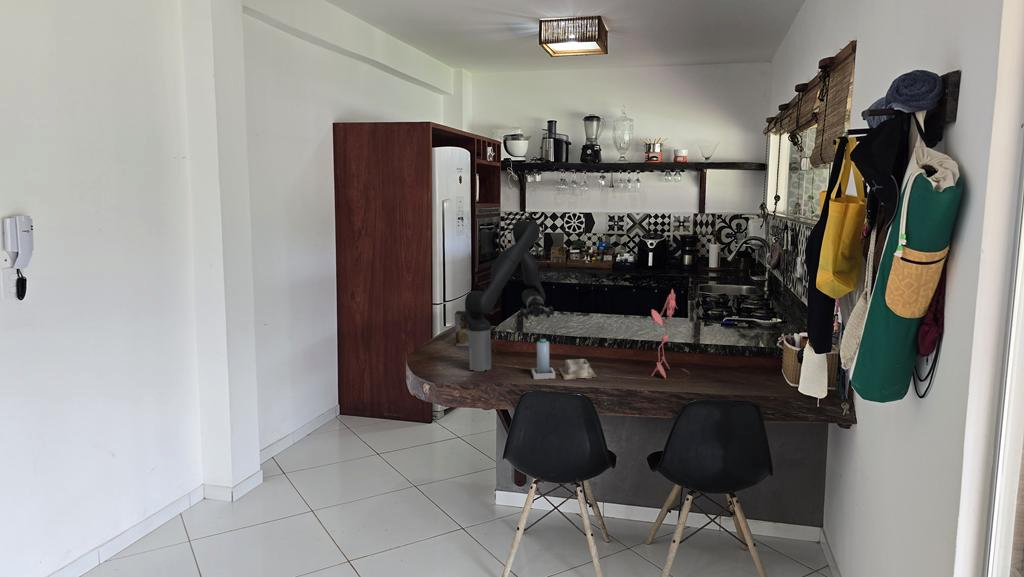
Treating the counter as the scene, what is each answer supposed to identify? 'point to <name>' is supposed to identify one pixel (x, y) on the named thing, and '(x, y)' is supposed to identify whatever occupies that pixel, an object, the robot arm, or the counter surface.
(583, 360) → the port
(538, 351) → the light blue bottle
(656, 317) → the pink branching plant
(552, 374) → the white square tray
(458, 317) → the coffee box
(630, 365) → the counter surface
